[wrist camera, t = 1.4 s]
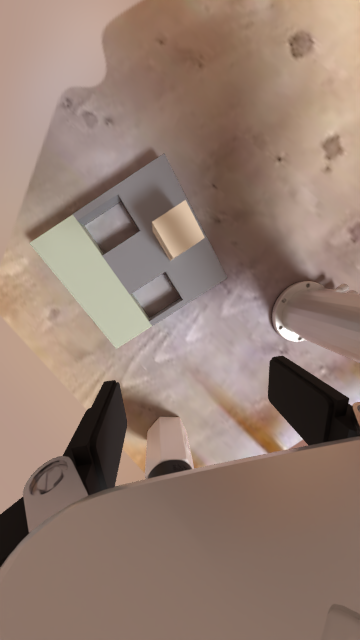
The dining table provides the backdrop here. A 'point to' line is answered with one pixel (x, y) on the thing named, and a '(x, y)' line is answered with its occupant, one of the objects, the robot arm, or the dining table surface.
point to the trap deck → (128, 255)
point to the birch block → (177, 230)
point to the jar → (167, 448)
